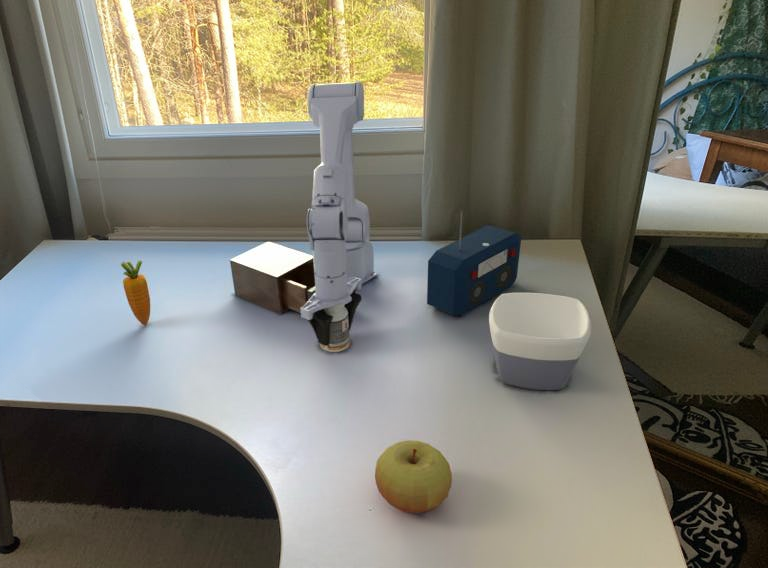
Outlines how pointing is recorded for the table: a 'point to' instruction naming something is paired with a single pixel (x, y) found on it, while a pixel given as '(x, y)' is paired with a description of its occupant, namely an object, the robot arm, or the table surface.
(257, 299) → the cabinet
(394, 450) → the apple
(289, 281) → the drawer
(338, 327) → the pill bottle
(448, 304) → the radio
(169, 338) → the table surface
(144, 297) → the carrot
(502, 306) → the bowl
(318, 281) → the robot arm
